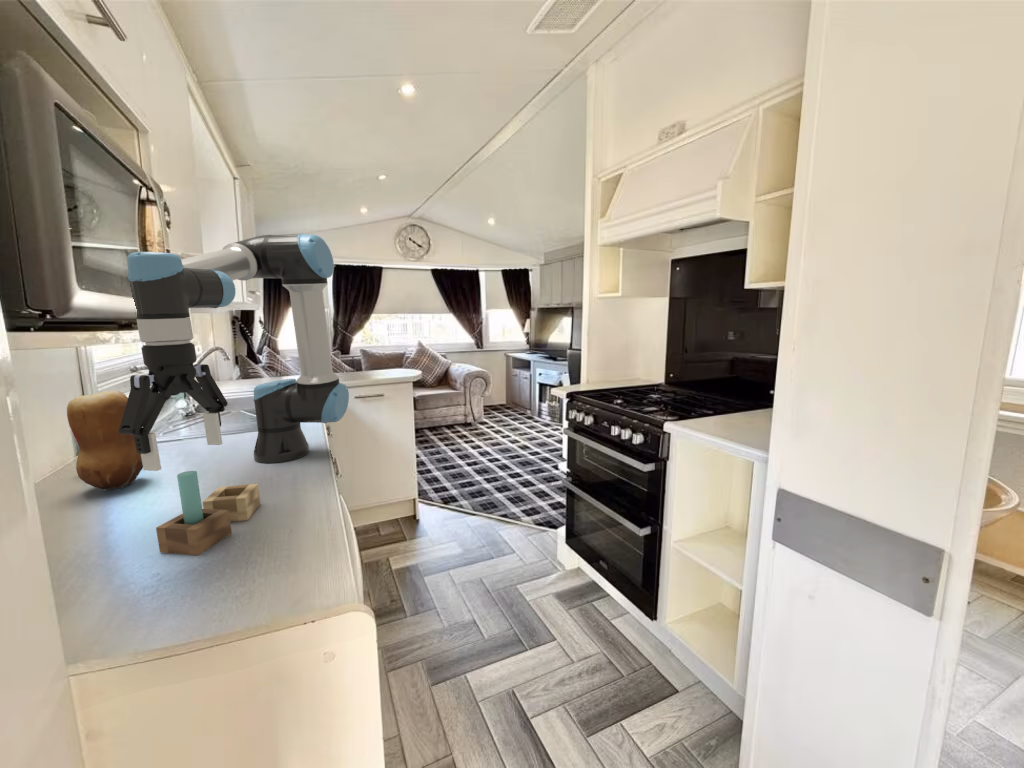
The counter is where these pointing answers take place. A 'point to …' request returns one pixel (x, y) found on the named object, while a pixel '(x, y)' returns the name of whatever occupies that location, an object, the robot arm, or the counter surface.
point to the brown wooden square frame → (193, 533)
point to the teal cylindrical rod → (190, 497)
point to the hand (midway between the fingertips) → (186, 456)
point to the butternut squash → (103, 441)
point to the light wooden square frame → (235, 500)
